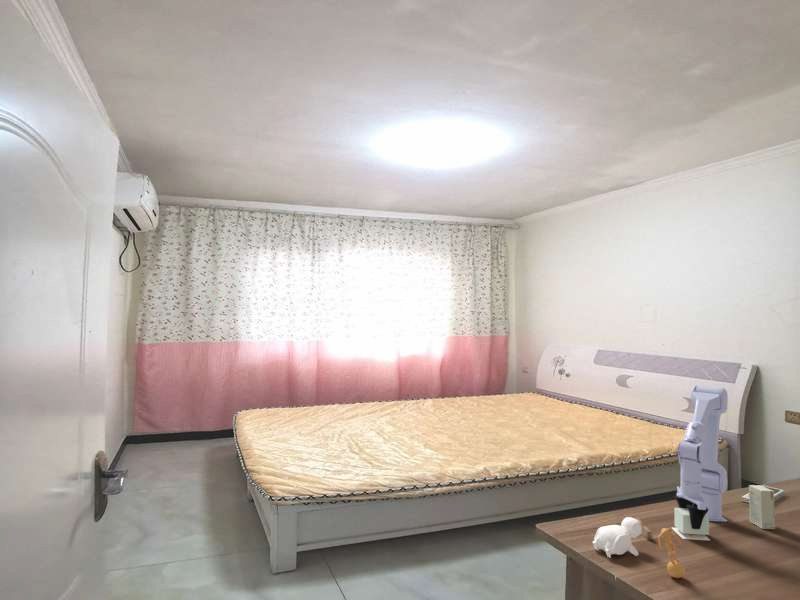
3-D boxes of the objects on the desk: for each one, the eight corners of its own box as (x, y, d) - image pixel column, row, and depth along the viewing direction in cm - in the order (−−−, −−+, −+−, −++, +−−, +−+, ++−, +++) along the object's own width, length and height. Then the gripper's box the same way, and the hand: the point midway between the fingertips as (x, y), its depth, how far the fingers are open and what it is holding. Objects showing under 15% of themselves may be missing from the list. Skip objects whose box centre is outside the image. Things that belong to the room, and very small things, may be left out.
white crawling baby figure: (617, 571, 139) (654, 543, 145) (608, 544, 138) (646, 517, 144) (594, 557, 147) (630, 531, 153) (586, 532, 146) (622, 506, 152)
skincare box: (775, 529, 161) (775, 491, 162) (761, 529, 161) (761, 491, 162) (761, 521, 168) (761, 484, 168) (748, 521, 168) (748, 484, 168)
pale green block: (674, 525, 160) (674, 507, 161) (699, 526, 160) (699, 508, 160) (683, 533, 155) (682, 514, 155) (708, 534, 154) (708, 516, 154)
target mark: (671, 527, 162) (671, 527, 162) (697, 529, 161) (697, 528, 161) (682, 539, 154) (682, 538, 154) (710, 540, 153) (710, 539, 153)
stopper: (632, 523, 165) (632, 516, 165) (636, 523, 164) (636, 516, 165) (647, 539, 153) (647, 531, 153) (651, 540, 153) (651, 532, 153)
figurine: (672, 584, 127) (672, 536, 128) (651, 573, 133) (651, 527, 133) (693, 577, 131) (693, 530, 131) (672, 566, 136) (672, 522, 137)
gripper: (667, 472, 165) (667, 514, 165) (688, 487, 151) (688, 533, 150) (689, 473, 165) (689, 515, 164) (713, 489, 150) (713, 534, 150)
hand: (690, 524), depth 157 cm, fingers closed on pale green block, 6 cm apart
